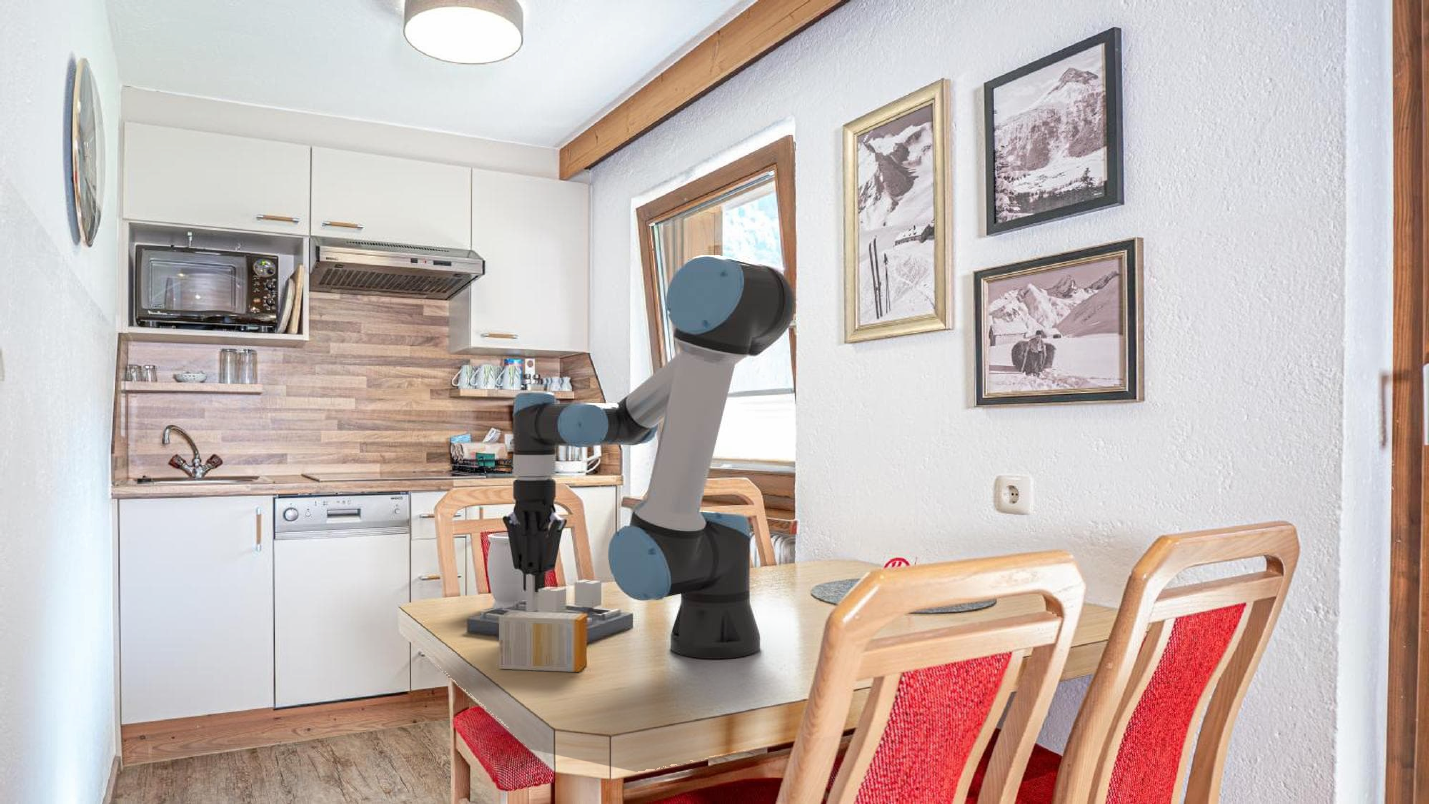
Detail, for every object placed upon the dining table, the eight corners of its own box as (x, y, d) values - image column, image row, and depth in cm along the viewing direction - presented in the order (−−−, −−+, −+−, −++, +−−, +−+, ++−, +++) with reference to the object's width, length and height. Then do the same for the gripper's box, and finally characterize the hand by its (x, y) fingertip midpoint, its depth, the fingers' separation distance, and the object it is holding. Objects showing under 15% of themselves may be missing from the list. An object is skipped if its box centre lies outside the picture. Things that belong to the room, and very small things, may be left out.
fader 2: (601, 611, 173) (601, 580, 173) (592, 614, 170) (592, 583, 170) (583, 609, 175) (583, 578, 175) (574, 612, 172) (574, 581, 172)
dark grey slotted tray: (633, 626, 173) (633, 607, 173) (574, 647, 157) (574, 627, 157) (530, 614, 184) (530, 596, 185) (466, 632, 169) (467, 613, 169)
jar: (485, 604, 194) (485, 532, 194) (535, 601, 197) (536, 530, 197) (488, 614, 184) (489, 538, 184) (541, 611, 187) (542, 536, 187)
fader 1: (566, 620, 166) (566, 587, 166) (556, 623, 163) (556, 590, 163) (548, 617, 167) (548, 586, 167) (538, 620, 165) (538, 588, 165)
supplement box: (588, 612, 147) (509, 609, 149) (579, 619, 142) (497, 615, 144) (588, 665, 147) (508, 661, 149) (579, 674, 142) (497, 669, 144)
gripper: (576, 478, 168) (576, 609, 167) (519, 476, 174) (519, 602, 173) (550, 480, 161) (550, 617, 161) (492, 478, 167) (491, 610, 167)
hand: (534, 609), depth 167 cm, fingers closed
